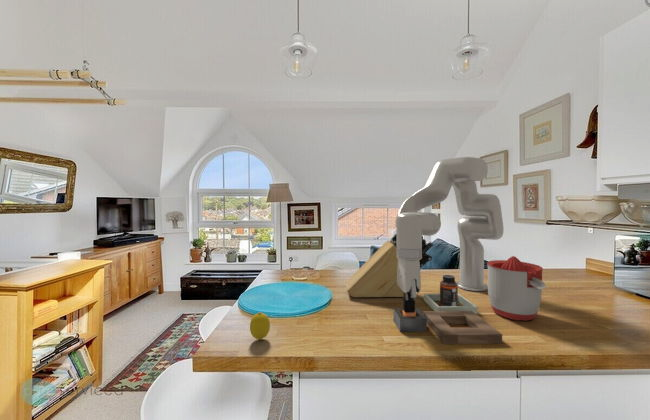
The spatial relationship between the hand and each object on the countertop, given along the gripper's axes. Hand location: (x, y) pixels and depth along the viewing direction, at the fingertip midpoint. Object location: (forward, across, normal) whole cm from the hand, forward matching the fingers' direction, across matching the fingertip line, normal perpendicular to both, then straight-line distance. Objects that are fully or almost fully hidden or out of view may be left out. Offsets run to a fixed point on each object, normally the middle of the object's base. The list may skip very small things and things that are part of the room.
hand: (409, 311), depth 85 cm
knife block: (+5, -30, 0) cm, 30 cm away
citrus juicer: (+5, -7, +38) cm, 39 cm away
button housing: (+4, 0, 0) cm, 5 cm away
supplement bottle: (+5, -15, +19) cm, 25 cm away
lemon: (+5, +8, -45) cm, 46 cm away
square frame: (+4, +3, +14) cm, 15 cm away
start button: (+4, 0, 0) cm, 4 cm away
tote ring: (+4, -15, +19) cm, 25 cm away
